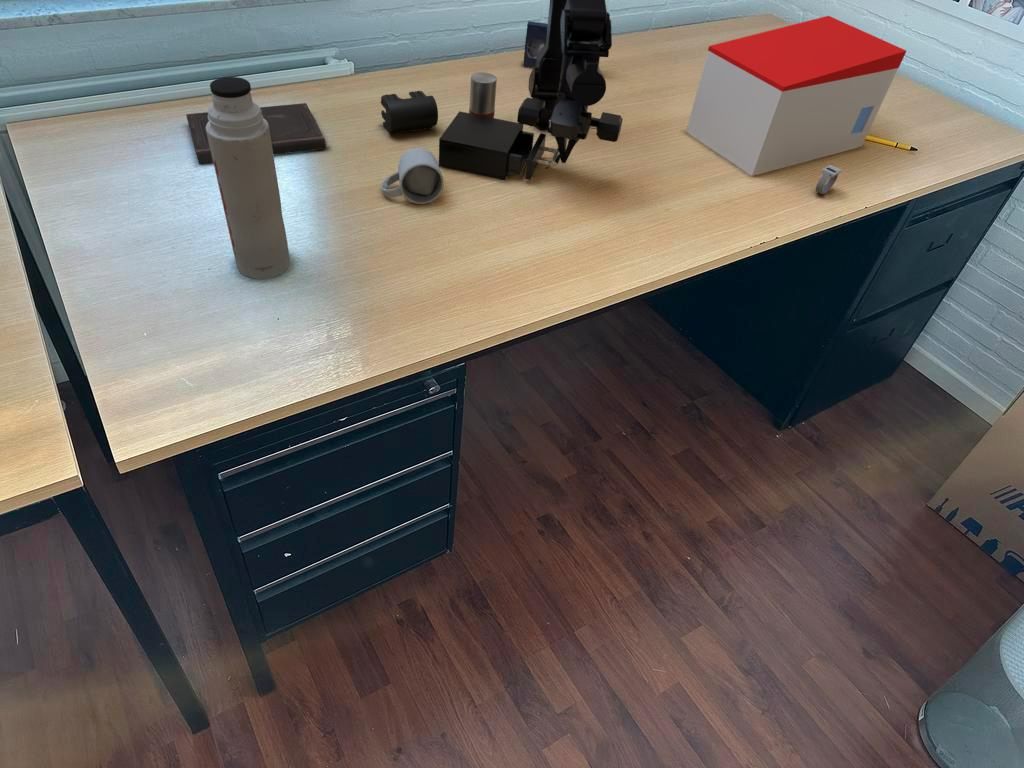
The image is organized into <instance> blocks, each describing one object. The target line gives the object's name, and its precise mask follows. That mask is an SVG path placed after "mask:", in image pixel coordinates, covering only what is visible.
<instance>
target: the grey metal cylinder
mask: <svg viewBox="0 0 1024 768" xmlns="http://www.w3.org/2000/svg"><path fill="white" fill-rule="evenodd" d="M497 80H498V77H497V76H496V75H494V74H493V73H489V72H483V71H482V72H481V71H480V72H474V73H472V74H471V76H470V86H469V87H470V88H469V89H470V91H469V109H468V113H471V114H476V115H481V116H486V117H491V118H495V110H496V109H495V108H496V107H495V106H496V93H497V82H498V81H497Z"/></svg>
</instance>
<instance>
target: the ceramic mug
mask: <svg viewBox="0 0 1024 768" xmlns="http://www.w3.org/2000/svg"><path fill="white" fill-rule="evenodd" d="M397 166H398V167H397V172H394V173H392V174H390V175H388V176H387V177H386V178H385V179H384V180H383V181H382V183H381V185H380V189H381V192H382V193H383V195H384V196H385V198H396V197H400V196H403V197H404V198H405V199H406V200H407V201H409V202H411V203H413V204H416V205H417V204H418V205H426V204H430V203H432V202H433V201H435V200H437V199H438V197H439V196H440V195H441V193H442V191H443V190H444V183H445V182H444V176H443V173H442V170H441V167H439V161H438V160H437V158H436V156H435V155H434V154H433V153H432V152H431V151H430V150H428V149H426V148H423V147H413V148H410V149H408V150H406V151H405V152H404V153H403V154H402V155H401V157H400V159H399V162H398V165H397ZM398 181H399V186H397V187H394V188H390V186H391V185H393V184H395V183H396V182H398Z"/></svg>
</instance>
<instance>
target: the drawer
mask: <svg viewBox="0 0 1024 768" xmlns="http://www.w3.org/2000/svg"><path fill="white" fill-rule="evenodd" d="M534 138H535V133H534V132H530V131H529V132H528V131H524V130H523V131H521V132H520V133H519V135H518V137H517V139H516V141H515V142H514V144H513V146H512V148H511V150H510V151H509V153H508V159H507V170H506V173H509V174H510V175H513V176H514V175H515V176H521V174H522V172H523V170H524V168H525V171H524V172H525V173H524V180H527V181H531V180H532V179H533V177H534V175H535V173H536V171H537V169H538V166H539V164H544V165H549V166H550V168H552V169H556V168H557V167H558V165H559V163H560V161H561V159H560V154H559V149H558V147H557V148H554V147H553V148H552V147H547V146H546V141H547V140H546V139H547V134H546V133H543V132H540V133H539V135H538V136H537V139H536V140H535V142H534ZM545 152H547V153H553V156H552V158H551V160H549V159H544V158H543V156H544V153H545ZM509 174H508V175H509Z"/></svg>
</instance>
